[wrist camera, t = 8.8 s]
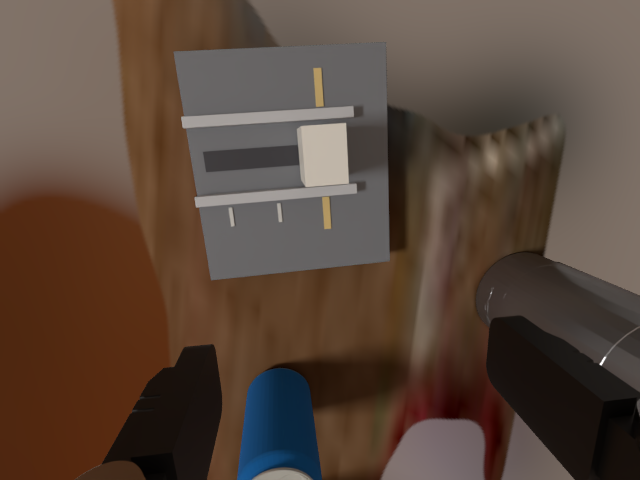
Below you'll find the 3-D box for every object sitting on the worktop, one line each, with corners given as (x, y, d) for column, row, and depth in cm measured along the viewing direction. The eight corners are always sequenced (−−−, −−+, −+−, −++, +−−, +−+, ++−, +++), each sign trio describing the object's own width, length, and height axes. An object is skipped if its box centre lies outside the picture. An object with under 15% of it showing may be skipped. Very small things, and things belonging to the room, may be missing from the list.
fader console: (377, 50, 30) (390, 38, 26) (382, 253, 34) (393, 264, 31) (182, 59, 28) (169, 48, 25) (215, 270, 33) (208, 284, 30)
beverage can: (235, 398, 37) (216, 514, 25) (271, 352, 36) (269, 451, 24) (285, 425, 38) (289, 545, 27) (321, 381, 37) (341, 487, 26)
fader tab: (334, 126, 28) (346, 123, 23) (336, 177, 29) (348, 183, 24) (296, 129, 28) (301, 125, 23) (301, 180, 29) (305, 187, 24)
